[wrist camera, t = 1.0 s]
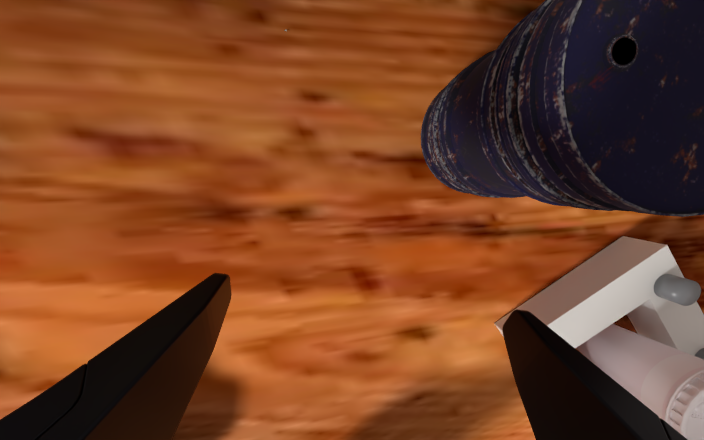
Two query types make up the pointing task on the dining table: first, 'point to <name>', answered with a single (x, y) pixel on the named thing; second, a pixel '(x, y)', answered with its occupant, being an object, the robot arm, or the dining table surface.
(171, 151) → the dining table surface
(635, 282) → the holder
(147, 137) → the dining table surface
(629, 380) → the smoothie
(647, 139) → the storage jar
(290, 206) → the dining table surface
